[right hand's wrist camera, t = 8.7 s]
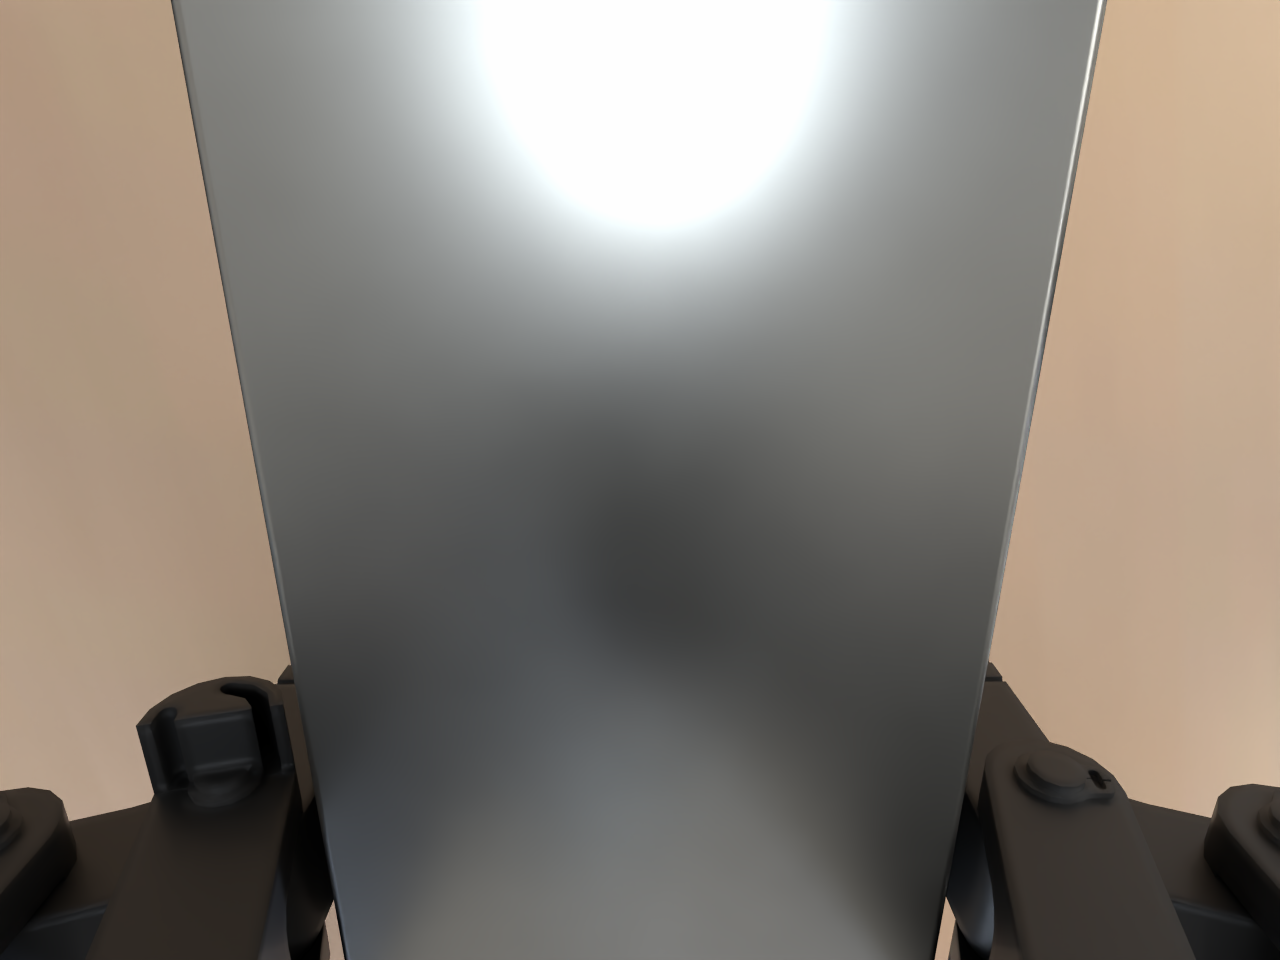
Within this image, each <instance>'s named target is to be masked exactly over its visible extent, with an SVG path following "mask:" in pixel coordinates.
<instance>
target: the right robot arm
mask: <svg viewBox="0 0 1280 960" xmlns="http://www.w3.org/2000/svg"><path fill="white" fill-rule="evenodd" d="M136 728H137V732H138V735H139V739H140V743H141V746H142V750H143V754H144V758H145V761H146V765H147V769H148V772H149V776H150V780H151V783H152V787H153V791H154V796H153V799H152V801H151V802H149V803H146V804H143V805H139V806H136V807H132V808H128V809H123V810H119V811H114V812H110V813H105V814H101V815H96V816H92V817H87V818H83V819H78V820H74V821H69V820H68V817H67V814H66V811H65V808H64V805H63V801H62V800H61V799H60V798H59V797H57V796H56V795H55V794H54V793H52V792H51V791H50V790H43V789H36V788H29V787H27V788H20V789H12V790H5V791H0V960H330V950H329V942H328V936H327V930H326V925H325V919H326V917H327V914H328V912H329V909H330V907H331V905H332V902H333V900H334V898H333V892H332V887H331V881H330V876H329V870H328V865H327V859H326V854H325V848H324V843H323V837H322V832H321V826H320V821H319V815H318V809H317V804H316V798H315V793H314V787H313V782H312V776H311V771H310V765H309V760H308V754H307V749H306V743H305V738H304V732H303V727H302V721H301V716H300V710H299V705H298V699H297V694H296V688H295V683H294V677H293V671H292V666H291V665H288V666H287V668H286V669H285V670H284V672H283V673H282V675H281V676H280V677H279V679H278V684H273V683H272V682H270V681H268V680H264V679H260V678H255V677H251V676H243V677H224V678H219V679H215V680H211V681H206V682H202V683H198V684H195V685H193V686H191V687H188V688H186V689H184V690H181V691H179V692H177V693H174V694H172V695H170V696H169V697H167V698H166V699H164V700H163V701H161V702H160V703H158V704H157V705H155V706H154V707H153V708H151V709H150V710H149V711H148V712H147V713H146V714H145V716H144V717H143V718H142V719H141V721H140V722H139V723H138V724H137V725H136ZM946 897H947V900H948V902H949V904H950V907H951V909H952V911H953V914H954V916H955V918H956V920H955V925H954V930H953V936H952V941H951V946H950V951H949V957H948V960H1280V787H1272V786H1265V785H1258V784H1247V785H1241V786H1234V787H1230V788H1229V789H1227V790H1226V791H1225V792H1224V793H1222V794H1221V795H1220V796H1219V797H1218V799H1217V802H1216V805H1215V809H1214V812H1213V815H1212V818H1209V817H1204V816H1199V815H1195V814H1190V813H1186V812H1181V811H1177V810H1172V809H1168V808H1163V807H1158V806H1154V805H1149V804H1146V803H1142V802H1139V801H1135V800H1132V799H1128V797H1127V795H1126V793H1125V791H1124V790H1123V788H1122V787H1121V786H1120V784H1119V783H1118V781H1117V780H1116V778H1115V777H1114V776H1113V775H1112V774H1111V773H1110V772H1109V771H1107V770H1106V769H1105V768H1103V767H1102V766H1101V765H1100V764H1098V763H1097V762H1096V761H1094V760H1093V759H1091V758H1089V757H1087V756H1085V755H1083V754H1081V753H1079V752H1077V751H1075V750H1073V749H1071V748H1069V747H1066V746H1062V745H1058V744H1054V743H1051V742H1049V741H1048V739H1047V738H1046V736H1045V735H1044V734H1043V732H1042V731H1041V730H1040V728H1039V727H1038V725H1037V724H1036V723H1035V721H1034V720H1033V719H1032V717H1031V716H1030V714H1029V713H1028V712H1027V710H1026V709H1025V708H1024V706H1023V705H1022V703H1021V702H1020V701H1019V699H1018V698H1017V697H1016V695H1015V694H1014V692H1013V691H1012V690H1011V688H1010V687H1009V686H1008V684H1007V683H1006V682H1003V681H1002V676H1001V675H1000V673H999V672H998V670H997V669H996V668H995V666H994V665H993V664H992V663H989V659H988V665H987V670H986V676H985V681H984V687H983V692H982V698H981V703H980V709H979V715H978V720H977V726H976V731H975V737H974V742H973V748H972V753H971V759H970V765H969V770H968V776H967V781H966V787H965V792H964V798H963V803H962V809H961V815H960V820H959V826H958V831H957V837H956V842H955V848H954V853H953V859H952V865H951V870H950V876H949V881H948V887H947V892H946Z"/></svg>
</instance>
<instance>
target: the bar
mask: <svg viewBox="0 0 1280 960" xmlns="http://www.w3.org/2000/svg"><path fill="white" fill-rule="evenodd" d="M171 4H172V9H173V15H174V20H175V26H176V31H177V37H178V42H179V48H180V53H181V59H182V64H183V70H184V75H185V81H186V86H187V92H188V97H189V103H190V108H191V114H192V119H193V125H194V131H195V136H196V142H197V147H198V153H199V158H200V164H201V169H202V175H203V180H204V186H205V191H206V197H207V202H208V208H209V213H210V219H211V224H212V230H213V235H214V241H215V246H216V252H217V257H218V263H219V268H220V274H221V280H222V285H223V291H224V296H225V302H226V307H227V313H228V318H229V324H230V329H231V335H232V340H233V346H234V351H235V357H236V362H237V368H238V373H239V379H240V384H241V390H242V395H243V401H244V407H245V412H246V418H247V423H248V429H249V434H250V440H251V445H252V451H253V456H254V462H255V467H256V473H257V478H258V484H259V489H260V495H261V500H262V506H263V511H264V517H265V522H266V528H267V533H268V539H269V545H270V550H271V556H272V561H273V567H274V572H275V578H276V583H277V589H278V594H279V600H280V605H281V611H282V616H283V622H284V627H285V633H286V638H287V644H288V649H289V655H290V660H291V666H292V671H293V677H294V683H295V688H296V694H297V699H298V705H299V710H300V716H301V721H302V727H303V732H304V738H305V743H306V749H307V754H308V760H309V765H310V771H311V776H312V782H313V787H314V793H315V798H316V804H317V809H318V815H319V821H320V826H321V832H322V837H323V843H324V848H325V854H326V859H327V865H328V870H329V876H330V881H331V887H332V892H333V898H334V903H335V909H336V914H337V920H338V925H339V931H340V936H341V942H342V947H343V953H344V959H345V960H934V959H935V953H936V948H937V942H938V937H939V931H940V926H941V920H942V915H943V909H944V903H945V898H946V892H947V887H948V881H949V876H950V870H951V865H952V859H953V853H954V848H955V842H956V837H957V831H958V826H959V820H960V815H961V809H962V803H963V798H964V792H965V787H966V781H967V776H968V770H969V765H970V759H971V753H972V748H973V742H974V737H975V731H976V726H977V720H978V715H979V709H980V703H981V698H982V692H983V687H984V681H985V676H986V670H987V665H988V659H989V653H990V648H991V642H992V637H993V631H994V626H995V620H996V615H997V609H998V603H999V598H1000V592H1001V587H1002V581H1003V576H1004V570H1005V565H1006V559H1007V553H1008V548H1009V542H1010V537H1011V531H1012V526H1013V520H1014V515H1015V509H1016V503H1017V498H1018V492H1019V487H1020V481H1021V476H1022V470H1023V465H1024V459H1025V453H1026V448H1027V442H1028V437H1029V431H1030V426H1031V420H1032V415H1033V409H1034V403H1035V398H1036V392H1037V387H1038V381H1039V376H1040V370H1041V365H1042V359H1043V354H1044V348H1045V342H1046V337H1047V331H1048V326H1049V320H1050V315H1051V309H1052V304H1053V298H1054V292H1055V287H1056V281H1057V276H1058V270H1059V265H1060V259H1061V254H1062V248H1063V242H1064V237H1065V231H1066V226H1067V220H1068V215H1069V209H1070V204H1071V198H1072V192H1073V187H1074V181H1075V176H1076V170H1077V165H1078V159H1079V154H1080V148H1081V142H1082V137H1083V131H1084V126H1085V120H1086V115H1087V109H1088V104H1089V98H1090V92H1091V87H1092V81H1093V76H1094V70H1095V65H1096V59H1097V54H1098V48H1099V42H1100V37H1101V31H1102V26H1103V20H1104V15H1105V9H1106V4H1107V0H171Z"/></svg>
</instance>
